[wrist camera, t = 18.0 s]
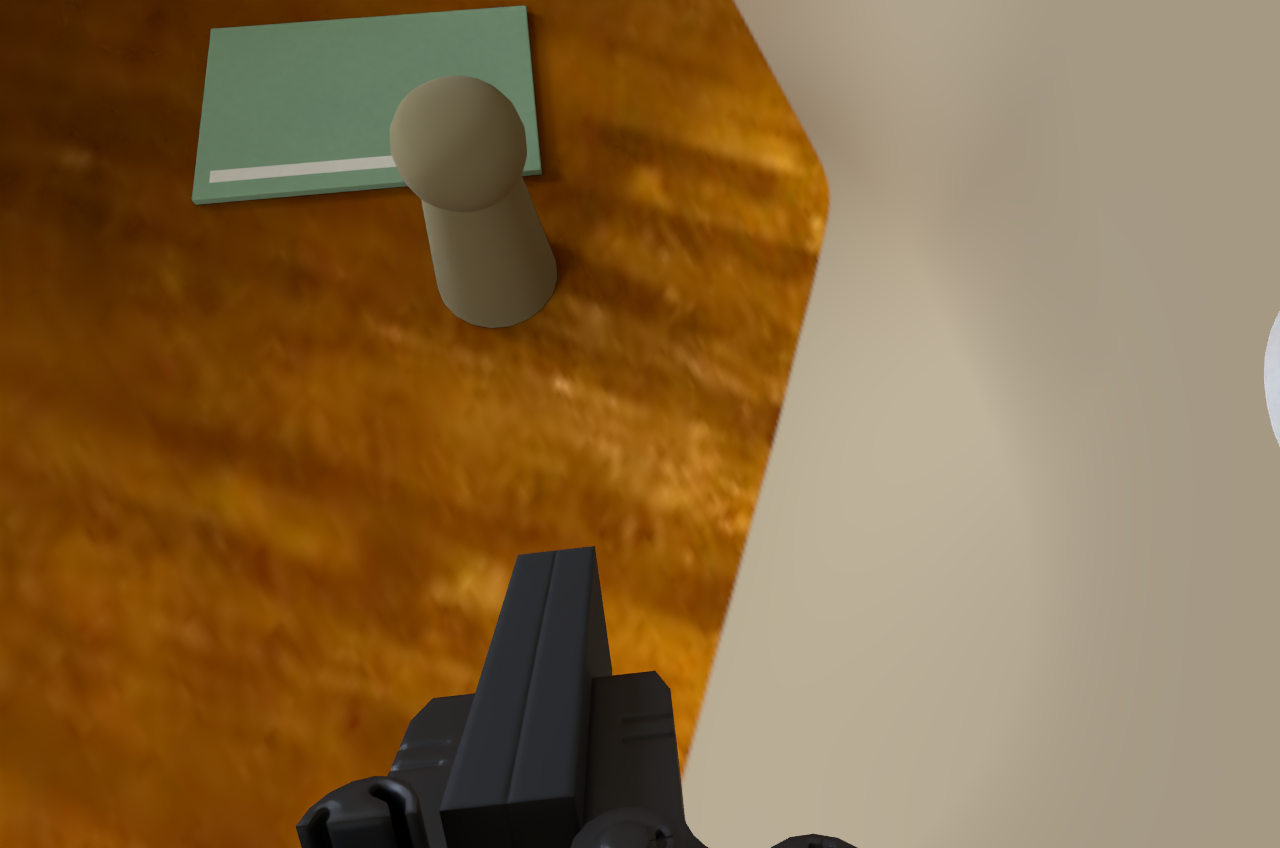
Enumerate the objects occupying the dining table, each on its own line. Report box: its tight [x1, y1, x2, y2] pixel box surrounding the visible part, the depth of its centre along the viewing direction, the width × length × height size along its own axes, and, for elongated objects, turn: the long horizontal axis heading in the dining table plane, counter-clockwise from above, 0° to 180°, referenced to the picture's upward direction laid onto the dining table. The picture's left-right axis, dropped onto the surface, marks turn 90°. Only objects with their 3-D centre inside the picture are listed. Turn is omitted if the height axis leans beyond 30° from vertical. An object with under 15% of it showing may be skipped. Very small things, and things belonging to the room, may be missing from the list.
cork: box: [390, 75, 558, 328], centre depth 33 cm, size 6×6×11 cm
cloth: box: [192, 6, 542, 205], centre depth 42 cm, size 18×12×1 cm, turn 97°
